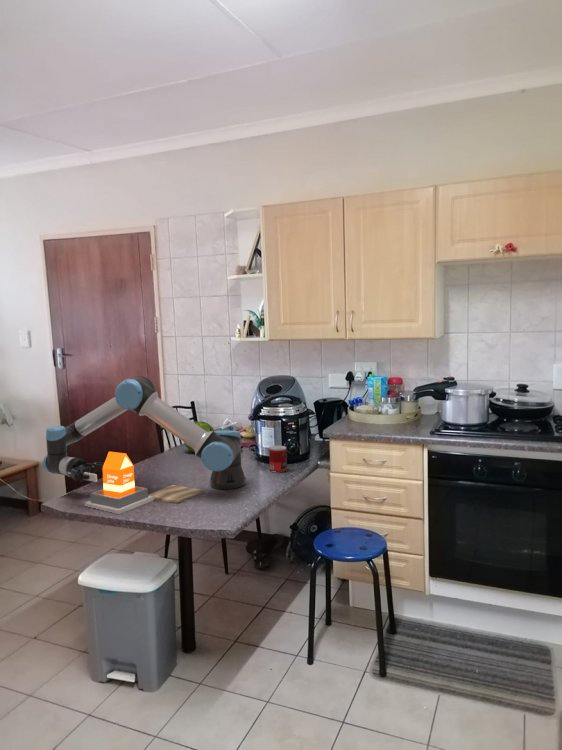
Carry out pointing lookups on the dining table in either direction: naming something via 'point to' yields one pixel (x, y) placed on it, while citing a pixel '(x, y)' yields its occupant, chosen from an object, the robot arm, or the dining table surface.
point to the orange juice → (118, 475)
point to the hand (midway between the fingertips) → (110, 473)
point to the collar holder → (119, 501)
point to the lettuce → (203, 426)
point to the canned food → (278, 458)
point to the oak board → (175, 493)
